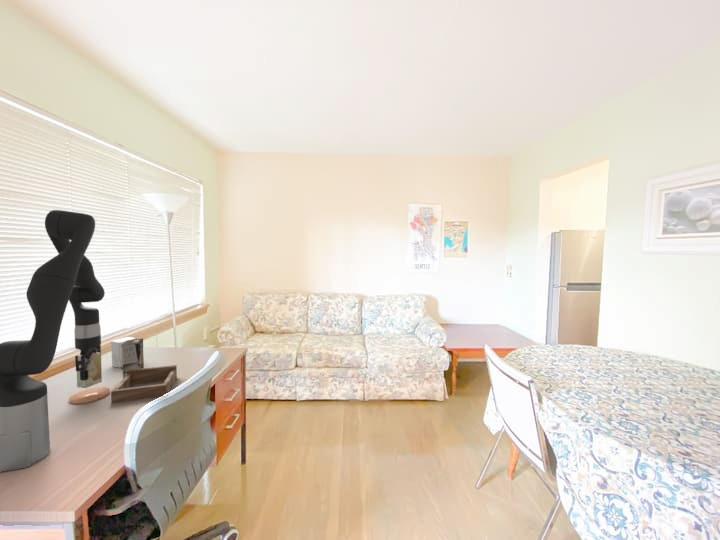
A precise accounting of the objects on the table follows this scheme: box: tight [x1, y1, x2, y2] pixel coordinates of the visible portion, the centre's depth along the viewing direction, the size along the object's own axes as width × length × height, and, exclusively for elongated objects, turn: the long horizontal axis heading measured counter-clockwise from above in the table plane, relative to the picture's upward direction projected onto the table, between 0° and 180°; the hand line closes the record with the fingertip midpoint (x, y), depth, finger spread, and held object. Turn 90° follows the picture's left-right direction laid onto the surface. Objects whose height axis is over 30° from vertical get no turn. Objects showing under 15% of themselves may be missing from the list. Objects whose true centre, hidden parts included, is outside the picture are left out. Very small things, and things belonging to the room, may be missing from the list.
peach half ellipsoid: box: [68, 386, 111, 405], centre depth 117 cm, size 12×12×1 cm
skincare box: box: [76, 352, 103, 389], centre depth 117 cm, size 6×4×12 cm
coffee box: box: [122, 338, 145, 380], centre depth 137 cm, size 9×6×16 cm
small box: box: [110, 336, 137, 369], centre depth 150 cm, size 8×6×13 cm
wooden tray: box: [110, 364, 178, 404], centre depth 124 cm, size 18×18×6 cm
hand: (89, 375), depth 117 cm, fingers closed on skincare box, 7 cm apart
